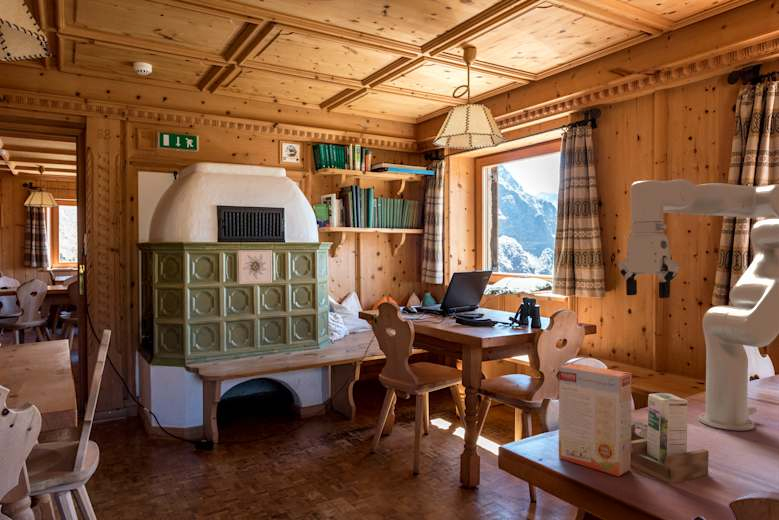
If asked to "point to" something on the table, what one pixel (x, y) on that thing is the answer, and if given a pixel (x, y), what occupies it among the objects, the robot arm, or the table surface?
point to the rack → (668, 461)
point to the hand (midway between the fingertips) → (647, 296)
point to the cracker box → (595, 418)
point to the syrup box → (666, 426)
